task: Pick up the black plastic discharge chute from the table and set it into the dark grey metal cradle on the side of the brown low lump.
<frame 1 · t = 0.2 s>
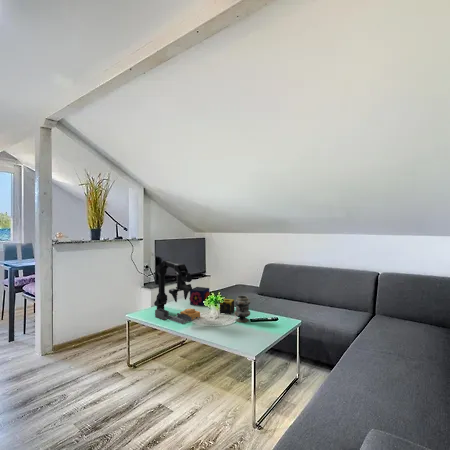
hand: (180, 300, 231), 14 cm above the table, tool pointing down, fingers open, 9 cm apart
apothecary jar: (242, 320, 227), on the table
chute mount: (180, 320, 230), on the table
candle: (227, 312, 248), on the table
brown low lump: (190, 316, 237), on the table
decorative cube: (199, 303, 276), on the table
chute: (161, 318, 235), on the table
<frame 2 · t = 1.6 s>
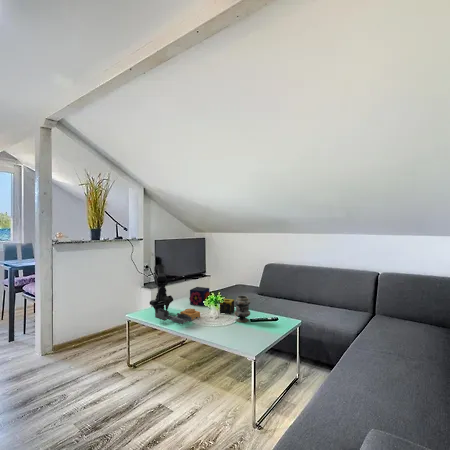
hand: (161, 311, 235), 5 cm above the table, tool pointing down, fingers open, 9 cm apart
nothing on the table moved.
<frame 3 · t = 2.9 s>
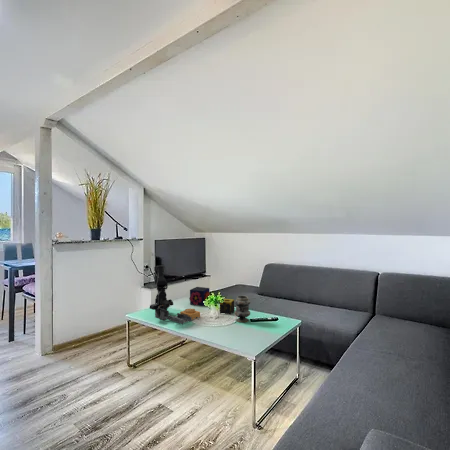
hand: (161, 315, 235), 2 cm above the table, tool pointing down, fingers closed on chute, 5 cm apart
chute: (161, 317, 235), on the table, touching gripper
everything else where it was.
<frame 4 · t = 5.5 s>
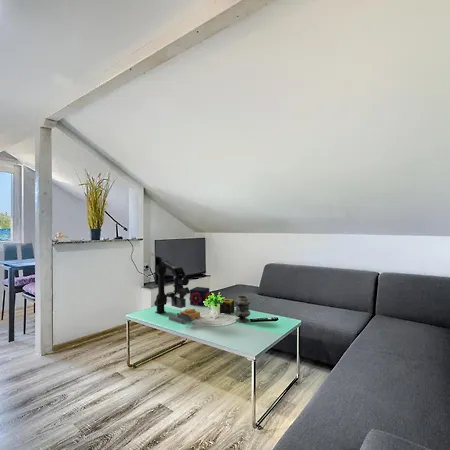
hand: (178, 304, 230), 12 cm above the table, tool pointing down, fingers closed on chute, 5 cm apart
chute: (178, 306, 230), point 10 cm above the table, touching gripper
everything else where it was.
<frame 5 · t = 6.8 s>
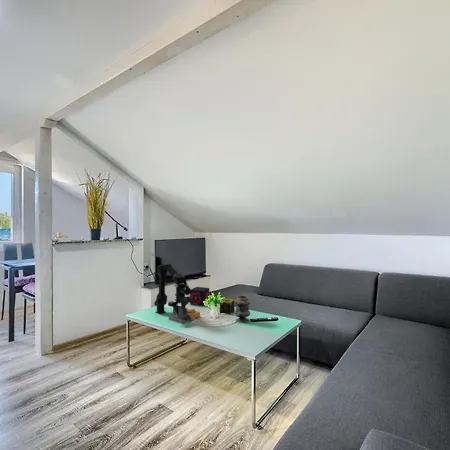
hand: (180, 313, 230), 5 cm above the table, tool pointing down, fingers closed on chute, 5 cm apart
chute: (180, 315, 229), point 4 cm above the table, touching gripper
everything else where it was.
when the fingers open (4 cm above the table, at t = 7.9 s): chute drops 1 cm, resting on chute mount.
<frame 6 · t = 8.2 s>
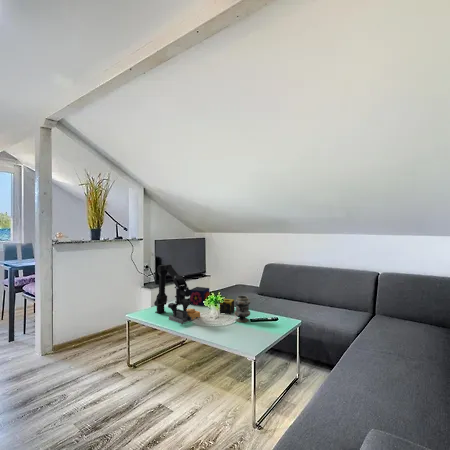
hand: (180, 315, 230), 4 cm above the table, tool pointing down, fingers open, 8 cm apart
chute: (180, 318, 229), point 1 cm above the table, touching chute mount
everything else where it was.
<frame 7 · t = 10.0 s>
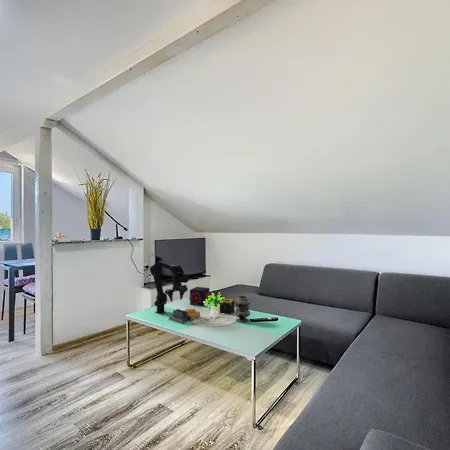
hand: (176, 300, 239), 12 cm above the table, tool pointing down, fingers open, 9 cm apart
nothing on the table moved.
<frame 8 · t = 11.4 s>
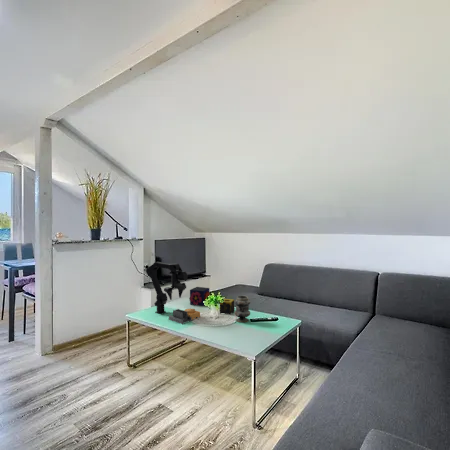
hand: (175, 298, 243), 13 cm above the table, tool pointing down, fingers open, 9 cm apart
nothing on the table moved.
at the end: chute 0.1 cm off-centre on the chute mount, point 0.8 cm above the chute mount's base; chute tilted 0°; the gripper is holding nothing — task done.
